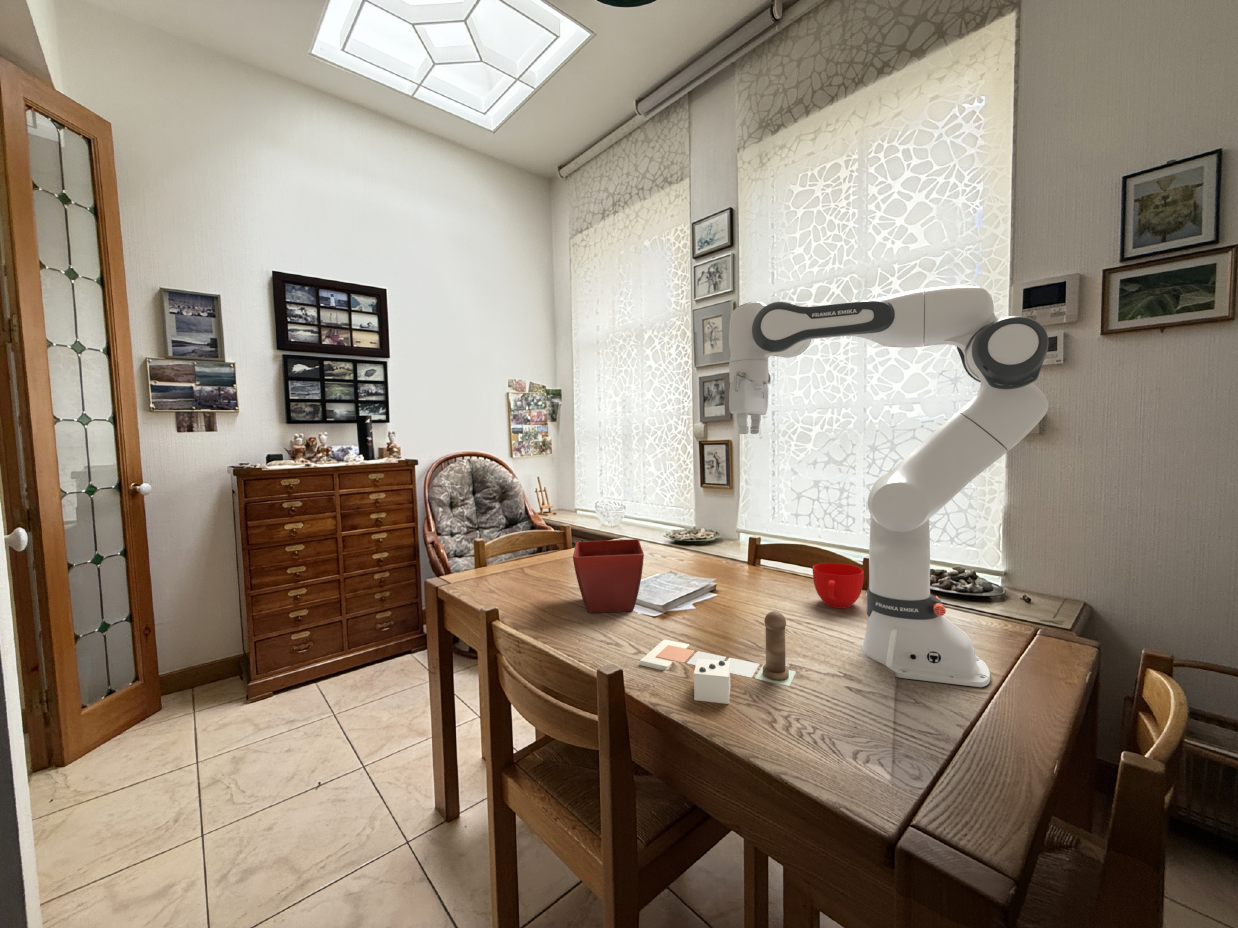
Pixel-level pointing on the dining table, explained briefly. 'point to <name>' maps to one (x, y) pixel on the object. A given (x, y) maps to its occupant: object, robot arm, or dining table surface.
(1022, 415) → the robot arm
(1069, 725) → the dining table surface
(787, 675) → the pawn
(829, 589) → the ceramic cup
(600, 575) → the plant pot
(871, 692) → the dining table surface
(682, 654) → the game board
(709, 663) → the die
